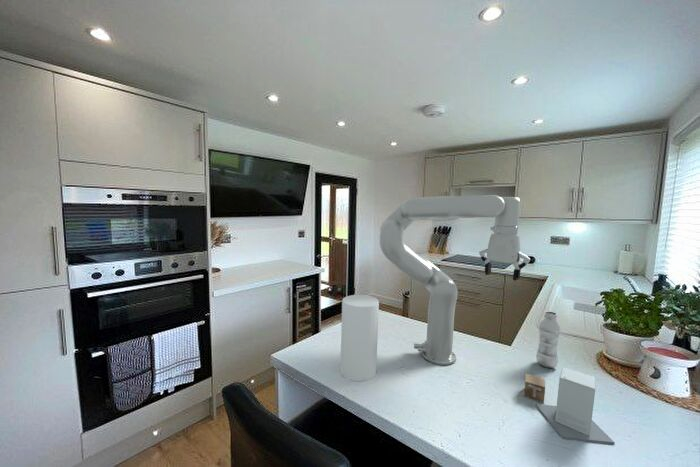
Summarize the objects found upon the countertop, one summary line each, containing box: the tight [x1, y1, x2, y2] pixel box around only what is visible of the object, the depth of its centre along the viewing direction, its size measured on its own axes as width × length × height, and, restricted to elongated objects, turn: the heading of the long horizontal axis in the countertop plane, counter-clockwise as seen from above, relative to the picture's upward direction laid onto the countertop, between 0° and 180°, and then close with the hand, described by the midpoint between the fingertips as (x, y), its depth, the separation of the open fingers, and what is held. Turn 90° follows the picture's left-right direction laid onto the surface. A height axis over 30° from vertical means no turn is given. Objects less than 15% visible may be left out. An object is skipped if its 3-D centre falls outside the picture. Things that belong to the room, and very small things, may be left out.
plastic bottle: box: [535, 310, 561, 369], centre depth 104 cm, size 6×7×20 cm
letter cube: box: [523, 373, 546, 404], centre depth 87 cm, size 5×5×5 cm
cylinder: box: [339, 294, 380, 382], centre depth 97 cm, size 12×12×25 cm
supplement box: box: [555, 366, 597, 435], centre depth 75 cm, size 7×7×13 cm
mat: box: [535, 403, 615, 445], centre depth 76 cm, size 12×12×1 cm
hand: (501, 277), depth 104 cm, fingers open, 9 cm apart
